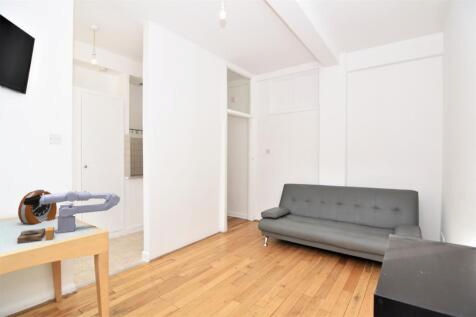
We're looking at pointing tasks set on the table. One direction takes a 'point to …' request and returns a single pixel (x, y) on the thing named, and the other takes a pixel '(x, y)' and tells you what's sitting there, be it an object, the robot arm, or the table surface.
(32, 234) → the shelf
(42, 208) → the alarm clock
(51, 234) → the orange upright block
